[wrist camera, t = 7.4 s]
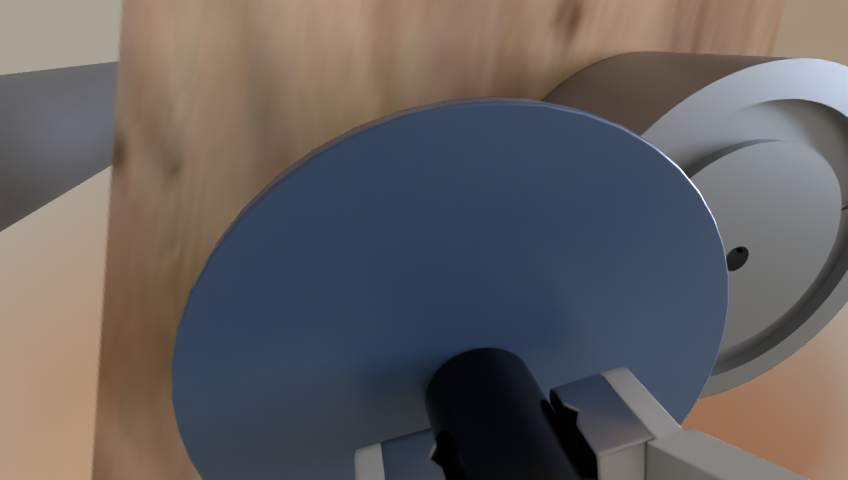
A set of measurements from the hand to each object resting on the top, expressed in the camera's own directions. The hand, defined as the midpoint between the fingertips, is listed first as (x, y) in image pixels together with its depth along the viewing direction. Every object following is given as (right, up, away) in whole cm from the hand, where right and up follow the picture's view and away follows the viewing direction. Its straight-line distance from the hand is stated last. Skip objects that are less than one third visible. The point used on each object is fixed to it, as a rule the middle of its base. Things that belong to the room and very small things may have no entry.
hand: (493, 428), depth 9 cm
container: (+17, +8, +33) cm, 38 cm away
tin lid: (0, +1, +1) cm, 2 cm away
